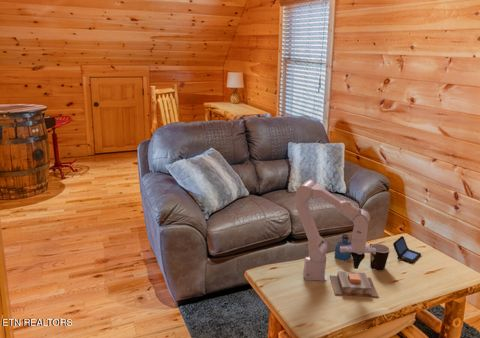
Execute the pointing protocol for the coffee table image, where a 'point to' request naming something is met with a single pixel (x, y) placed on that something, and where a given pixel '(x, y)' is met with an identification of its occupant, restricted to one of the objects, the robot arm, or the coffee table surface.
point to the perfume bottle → (345, 255)
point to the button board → (338, 292)
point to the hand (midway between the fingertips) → (355, 267)
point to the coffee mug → (379, 256)
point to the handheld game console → (405, 251)
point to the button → (354, 278)
